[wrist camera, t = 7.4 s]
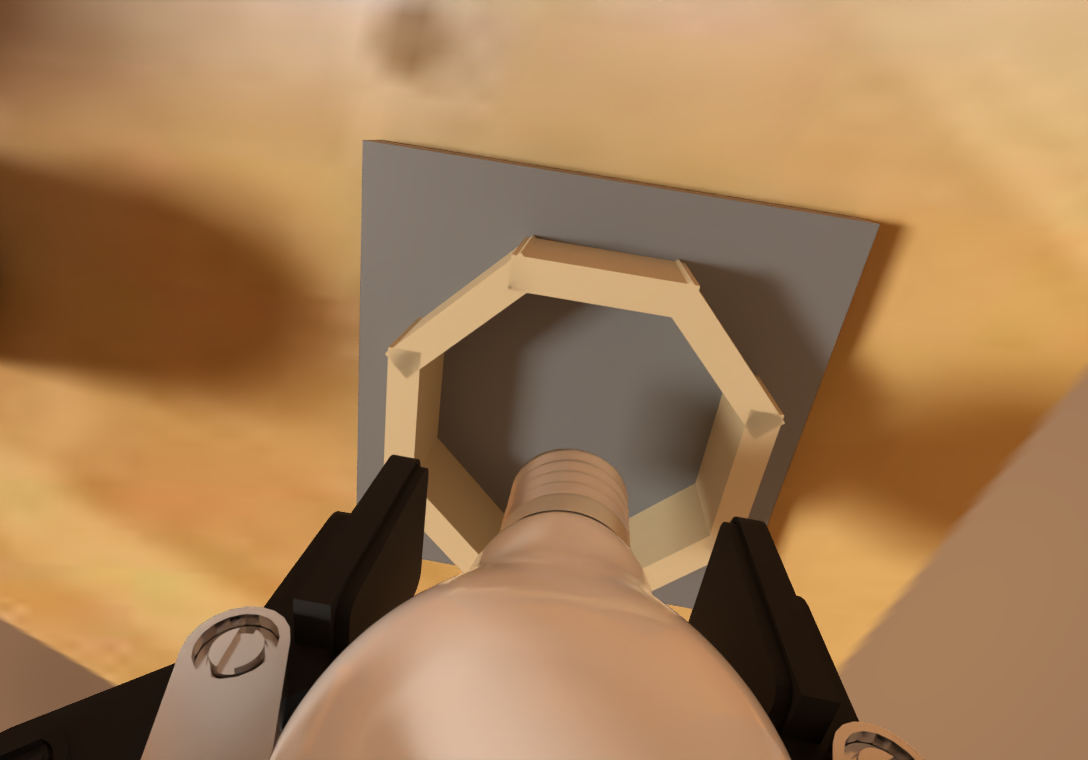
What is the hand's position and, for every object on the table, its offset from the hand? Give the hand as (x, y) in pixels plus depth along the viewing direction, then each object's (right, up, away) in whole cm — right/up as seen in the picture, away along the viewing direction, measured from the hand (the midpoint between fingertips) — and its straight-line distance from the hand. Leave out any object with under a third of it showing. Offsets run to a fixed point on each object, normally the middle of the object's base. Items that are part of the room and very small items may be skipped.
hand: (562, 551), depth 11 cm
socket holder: (+1, +3, +7) cm, 7 cm away
